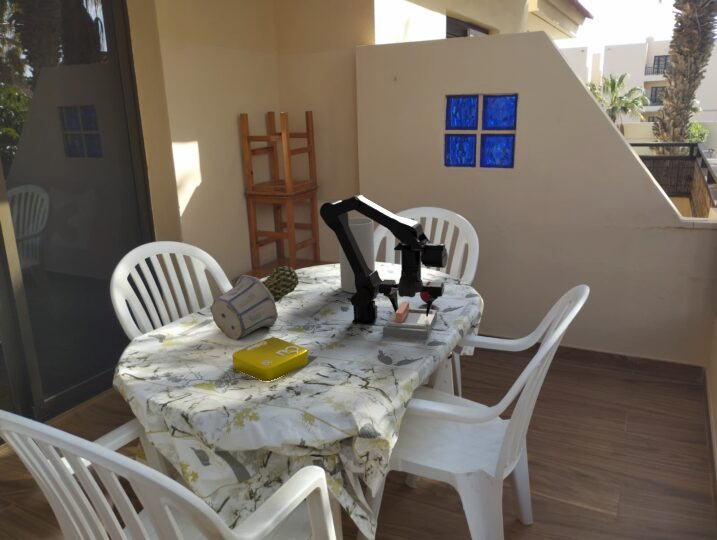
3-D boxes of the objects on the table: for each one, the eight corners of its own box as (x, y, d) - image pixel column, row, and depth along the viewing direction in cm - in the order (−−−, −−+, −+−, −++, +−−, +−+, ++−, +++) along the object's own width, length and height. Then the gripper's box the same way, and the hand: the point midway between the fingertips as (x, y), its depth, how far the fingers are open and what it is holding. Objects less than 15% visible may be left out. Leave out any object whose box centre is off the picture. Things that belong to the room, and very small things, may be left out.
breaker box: (383, 335, 166) (382, 325, 165) (396, 314, 182) (395, 305, 181) (427, 339, 163) (427, 328, 162) (436, 317, 178) (436, 307, 177)
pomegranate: (431, 308, 186) (431, 285, 184) (416, 305, 189) (416, 282, 187) (440, 303, 190) (440, 280, 188) (425, 300, 194) (425, 277, 192)
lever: (395, 322, 168) (395, 312, 167) (402, 310, 177) (402, 301, 176) (402, 322, 167) (402, 313, 166) (409, 310, 176) (409, 301, 175)
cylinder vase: (335, 286, 212) (332, 220, 205) (366, 281, 217) (363, 216, 210) (349, 296, 201) (346, 226, 194) (381, 290, 206) (379, 222, 199)
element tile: (274, 349, 161) (272, 334, 159) (311, 364, 151) (310, 347, 150) (230, 369, 150) (228, 352, 149) (267, 385, 140) (266, 368, 139)
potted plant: (236, 301, 156) (307, 252, 176) (196, 293, 167) (267, 247, 187) (255, 353, 164) (321, 300, 183) (216, 342, 175) (282, 293, 194)
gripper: (373, 271, 162) (374, 322, 166) (438, 274, 157) (438, 327, 161) (382, 260, 172) (384, 309, 176) (444, 263, 167) (444, 313, 171)
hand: (411, 315), depth 171 cm, fingers open, 9 cm apart
